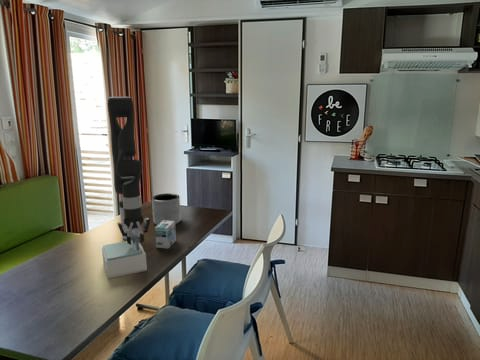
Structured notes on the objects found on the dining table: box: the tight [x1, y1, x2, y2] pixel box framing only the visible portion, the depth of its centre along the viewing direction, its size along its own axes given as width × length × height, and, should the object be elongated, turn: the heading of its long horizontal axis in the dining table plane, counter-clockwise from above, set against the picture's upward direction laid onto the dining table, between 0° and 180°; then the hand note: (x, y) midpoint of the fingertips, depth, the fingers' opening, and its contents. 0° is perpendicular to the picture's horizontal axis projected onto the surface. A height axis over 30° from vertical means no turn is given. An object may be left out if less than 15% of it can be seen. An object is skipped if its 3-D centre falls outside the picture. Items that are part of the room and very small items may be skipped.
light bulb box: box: [154, 220, 177, 249], centre depth 182 cm, size 11×7×11 cm, turn 168°
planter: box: [151, 192, 182, 226], centre depth 213 cm, size 16×16×16 cm
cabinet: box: [101, 242, 148, 280], centre depth 159 cm, size 16×16×8 cm
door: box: [102, 230, 142, 260], centre depth 157 cm, size 15×14×6 cm
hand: (135, 242), depth 160 cm, fingers open, 4 cm apart
